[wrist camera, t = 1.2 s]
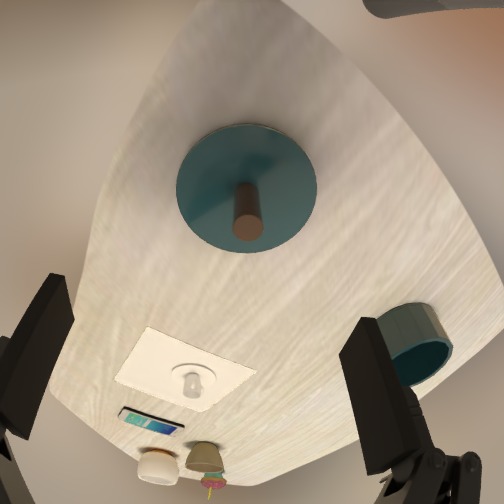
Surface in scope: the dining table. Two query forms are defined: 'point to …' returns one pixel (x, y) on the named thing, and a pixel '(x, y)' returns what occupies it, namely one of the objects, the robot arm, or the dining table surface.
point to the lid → (246, 188)
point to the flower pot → (204, 459)
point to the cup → (158, 468)
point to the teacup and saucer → (179, 372)
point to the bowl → (415, 342)
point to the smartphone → (150, 422)
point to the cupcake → (213, 481)
